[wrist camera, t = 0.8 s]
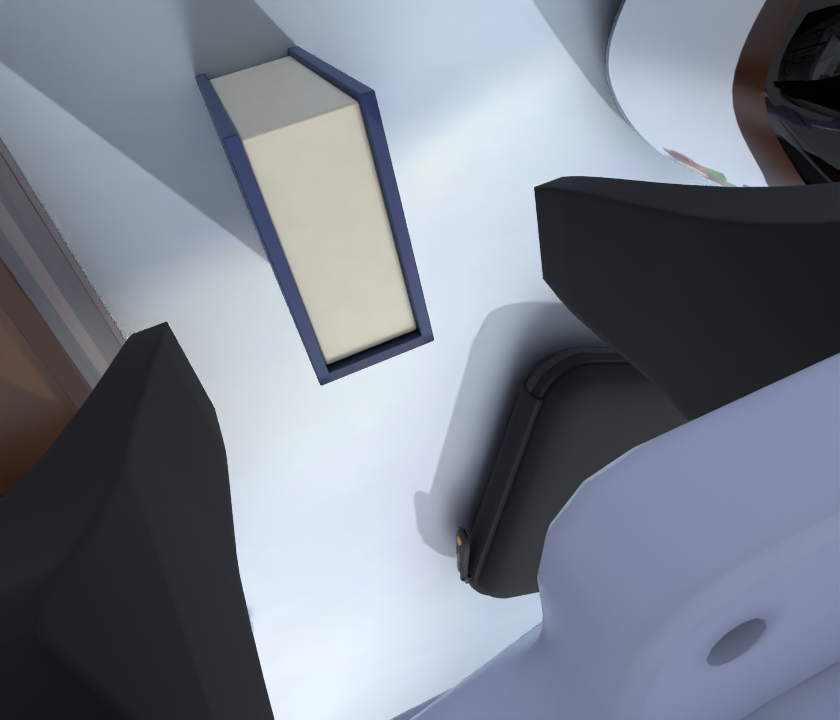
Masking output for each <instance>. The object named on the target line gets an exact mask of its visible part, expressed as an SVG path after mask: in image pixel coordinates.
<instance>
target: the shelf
mask: <svg viewBox="0 0 840 720" xmlns="http://www.w3.org/2000/svg"><path fill="white" fill-rule="evenodd" d="M125 342H126V341H125V339H124V338H123V336H122V334H121V333H120V331H119V329H118V328H117V326H116V325H115V323H114V321H113V320H112V318H111V316H110V315H109V313H108V312H107V310H106V308H105V307H104V305H103V303H102V302H101V300H100V299H99V297H98V295H97V294H96V292H95V290H94V289H93V287H92V286H91V284H90V282H89V281H88V279H87V277H86V276H85V274H84V273H83V271H82V269H81V268H80V266H79V264H78V263H77V261H76V260H75V258H74V256H73V255H72V253H71V251H70V250H69V248H68V247H67V245H66V243H65V242H64V240H63V239H62V237H61V235H60V234H59V232H58V230H57V229H56V227H55V226H54V224H53V222H52V221H51V219H50V217H49V216H48V214H47V213H46V211H45V209H44V208H43V206H42V204H41V203H40V201H39V200H38V198H37V196H36V195H35V193H34V191H33V190H32V188H31V187H30V185H29V183H28V182H27V180H26V178H25V177H24V175H23V174H22V172H21V170H20V169H19V167H18V165H17V164H16V162H15V161H14V159H13V157H12V156H11V154H10V152H9V151H8V149H7V148H6V146H5V144H4V143H3V141H2V139H1V138H0V499H1V498H2V497H3V496H4V495H5V494H6V493H7V492H8V491H9V490H11V489H12V488H13V486H14V485H15V484H16V483H17V482H18V481H19V480H20V479H21V478H22V477H23V476H24V475H25V474H26V473H27V472H28V471H29V470H30V469H31V467H32V466H33V465H34V464H35V463H36V462H37V461H38V460H39V459H40V458H41V456H42V455H43V454H44V453H45V452H46V451H47V450H48V448H49V447H50V446H51V445H52V444H53V442H54V441H55V440H56V439H57V437H58V436H59V435H60V433H61V432H62V431H63V430H64V428H65V427H66V426H67V424H68V423H69V422H70V420H71V419H72V418H73V416H74V415H75V414H76V413H77V411H78V410H79V409H80V407H81V406H82V405H83V403H84V402H85V401H86V399H87V398H88V396H89V395H90V394H91V392H92V391H93V389H94V388H95V386H96V385H97V383H98V382H99V380H100V379H101V377H102V376H103V374H104V373H105V372H106V370H107V369H108V367H109V366H110V364H111V363H112V361H113V360H114V358H115V357H116V355H117V354H118V352H119V351H120V349H121V348H122V346H123V345H124V343H125Z"/></svg>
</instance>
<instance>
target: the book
mask: <svg viewBox="0 0 840 720" xmlns="http://www.w3.org/2000/svg"><path fill="white" fill-rule="evenodd" d="M288 52H289V55H290V56H287V57H284V58H280V59H277V60H274V61H270V62H267V63H264V64H260V65H257V66H254V67H250V68H247V69H244V70H241V71H237V72H234V73H231V74H227V75H224V76H221V77H217V78H214V79H211V80H208V78H207V76H206V74H201V75H198V76H196V77H195V78H196V81H197V83H198V86H199V88H200V91H201V93H202V96H203V98H204V101H205V103H206V106H207V108H208V111H209V113H210V116H211V118H212V121H213V123H214V126H215V128H216V131H217V133H218V136H219V138H220V141H221V143H222V146H223V148H224V150H225V153H226V155H227V158H228V160H229V163H230V165H231V168H232V170H233V173H234V175H235V178H236V180H237V183H238V185H239V188H240V190H241V193H242V195H243V198H244V200H245V203H246V205H247V208H248V210H249V213H250V215H251V218H252V220H253V223H254V225H255V228H256V230H257V233H258V235H259V238H260V240H261V243H262V245H263V247H264V250H265V252H266V255H267V257H268V260H269V262H270V265H271V267H272V270H273V272H274V275H275V277H276V279H277V282H278V284H279V287H280V289H281V291H282V294H283V296H284V299H285V301H286V303H287V306H288V308H289V311H290V313H291V316H292V318H293V320H294V323H295V325H296V328H297V330H298V332H299V335H300V337H301V340H302V342H303V344H304V347H305V349H306V352H307V354H308V357H309V359H310V361H311V364H312V366H313V369H314V371H315V373H316V376H317V378H318V381H319V383H320V385H324V384H327V383H329V382H332V381H334V380H337V379H339V378H342V377H344V376H347V375H349V374H352V373H354V372H357V371H359V370H362V369H364V368H367V367H369V366H372V365H374V364H377V363H379V362H382V361H384V360H387V359H389V358H392V357H394V356H397V355H399V354H402V353H404V352H407V351H409V350H412V349H414V348H417V347H419V346H422V345H424V344H426V343H429V342H431V341H434V337H433V333H432V329H431V325H430V320H429V316H428V312H427V308H426V304H425V299H424V295H423V291H422V287H421V283H420V279H419V274H418V270H417V266H416V262H415V258H414V254H413V249H412V245H411V241H410V237H409V233H408V228H407V224H406V220H405V216H404V212H403V208H402V203H401V199H400V195H399V191H398V187H397V183H396V178H395V174H394V170H393V166H392V162H391V158H390V153H389V149H388V145H387V141H386V137H385V132H384V128H383V124H382V120H381V116H380V112H379V107H378V103H377V99H376V95H375V91H374V90H373V89H371V88H369V87H367V86H366V85H364V84H362V83H361V82H359V81H357V80H355V79H354V78H352V77H350V76H348V75H347V74H345V73H343V72H341V71H340V70H338V69H336V68H334V67H333V66H331V65H329V64H327V63H326V62H324V61H322V60H321V59H319V58H317V57H315V56H314V55H312V54H310V53H308V52H307V51H305V50H303V49H301V48H300V47H298V46H295V47H291V48H289V49H288Z"/></svg>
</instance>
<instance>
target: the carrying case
mask: <svg viewBox="0 0 840 720" xmlns="http://www.w3.org/2000/svg"><path fill="white" fill-rule="evenodd" d="M688 422H689V421H688V420H687V419H686V418H685V417H684V416H683V415H682V414H681V413H680V412H679V410H678V409H677V408H676V407H675V406H674V405H673V404H672V403H671V402H670V401H669V400H668V398H667V397H666V396H665V395H664V394H663V393H662V392H661V391H660V390H659V389H658V388H657V387H656V386H655V385H654V384H653V383H652V382H651V381H650V380H649V379H648V378H647V377H645V376H644V375H643V374H642V373H641V372H640V371H639V370H638V369H636V368H635V367H634V366H633V365H632V364H630V363H629V362H628V361H627V360H626V359H625V358H623V357H622V356H621V355H620V354H619V353H618V352H616V351H615V350H614V349H613V348H612V347H575V348H569V349H566V350H563V351H560V352H558V353H555V354H552V355H550V356H548V357H546V358H544V359H542V360H541V361H540V362H539V363H538V364H537V366H536V367H535V368H534V370H533V372H532V373H531V375H530V377H529V379H528V381H527V383H526V384H524V383H522V384H521V385H520V388H519V394H518V398H517V401H516V403H515V406H514V409H513V412H512V415H511V418H510V421H509V424H508V427H507V430H506V433H505V436H504V439H503V442H502V445H501V447H500V450H499V453H498V456H497V459H496V462H495V465H494V468H493V471H492V474H491V477H490V480H489V483H488V486H487V489H486V492H485V494H484V497H483V500H482V503H481V506H480V509H479V512H478V515H477V518H476V521H475V524H474V527H473V530H472V533H471V536H470V538H469V537H468V534H467V532H466V530H465V529H464V528H462V527H459V528H458V530H457V534H456V544H457V568H458V571H459V572H460V579H461V580H462V581H465V583H466V584H467V583H469V584H470V586H471V587H472V588H473V589H474V590H476V591H477V592H479V593H481V594H484V595H489V596H491V597H496V598H502V599H503V598H510V597H516V596H521V595H526V594H531V593H537V592H539V586H538V580H537V575H538V571H539V566H540V561H541V557H542V552H543V548H544V543H545V538H546V534H547V531H548V528H549V526H550V524H551V522H552V521H553V520H554V519H555V517H556V516H557V515H558V513H559V512H560V511H561V510H562V508H563V507H564V506H565V504H566V503H567V502H568V501H569V499H570V498H571V497H572V495H573V494H574V493H575V492H576V490H577V489H578V488H579V486H580V485H581V484H582V483H583V481H585V480H586V479H588V478H589V477H590V476H592V475H593V474H595V473H596V472H598V471H599V470H601V469H602V468H604V467H605V466H607V465H608V464H610V463H611V462H613V461H614V460H616V459H617V458H619V457H620V456H622V455H623V454H625V453H626V452H627V451H629V450H630V449H632V448H634V447H636V446H638V445H640V444H642V443H645V442H647V441H649V440H651V439H653V438H656V437H658V436H660V435H662V434H664V433H666V432H669V431H671V430H673V429H675V428H677V427H679V426H682V425H684V424H686V423H688Z"/></svg>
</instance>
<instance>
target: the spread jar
mask: <svg viewBox="0 0 840 720" xmlns="http://www.w3.org/2000/svg"><path fill="white" fill-rule="evenodd" d="M605 63H606V76H607V80H608V85H609V88H610V91H611V94H612V97H613V99H614V101H615V104H616V105H617V107H618V109H619V111H620V113H621V114H622V116H623V117H624V119H625V120H626V122H627V123H628V124H629V125H630V127H631V128H632V129H633V130H634V131H635V132H636V133H637V134H638V135H639V136H640V137H641V138H642V139H643V140H644V141H645V142H647V143H648V144H649V145H651V146H652V147H653V148H655V149H656V150H658V151H659V152H661V153H662V154H664V155H665V156H667V157H668V158H670V159H672V160H673V161H675V162H677V163H679V164H680V165H682V166H684V167H686V168H688V169H690V170H692V171H694V172H696V173H698V174H700V175H702V176H704V177H705V178H707V179H709V180H711V181H714V182H716V183H718V184H721V185H723V186H725V187H768V186H797V185H812V184H824V183H835V182H840V0H623V1H622V3H621V5H620V8H619V10H618V13H617V15H616V18H615V20H614V23H613V26H612V29H611V33H610V36H609V40H608V45H607V50H606V60H605Z"/></svg>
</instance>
